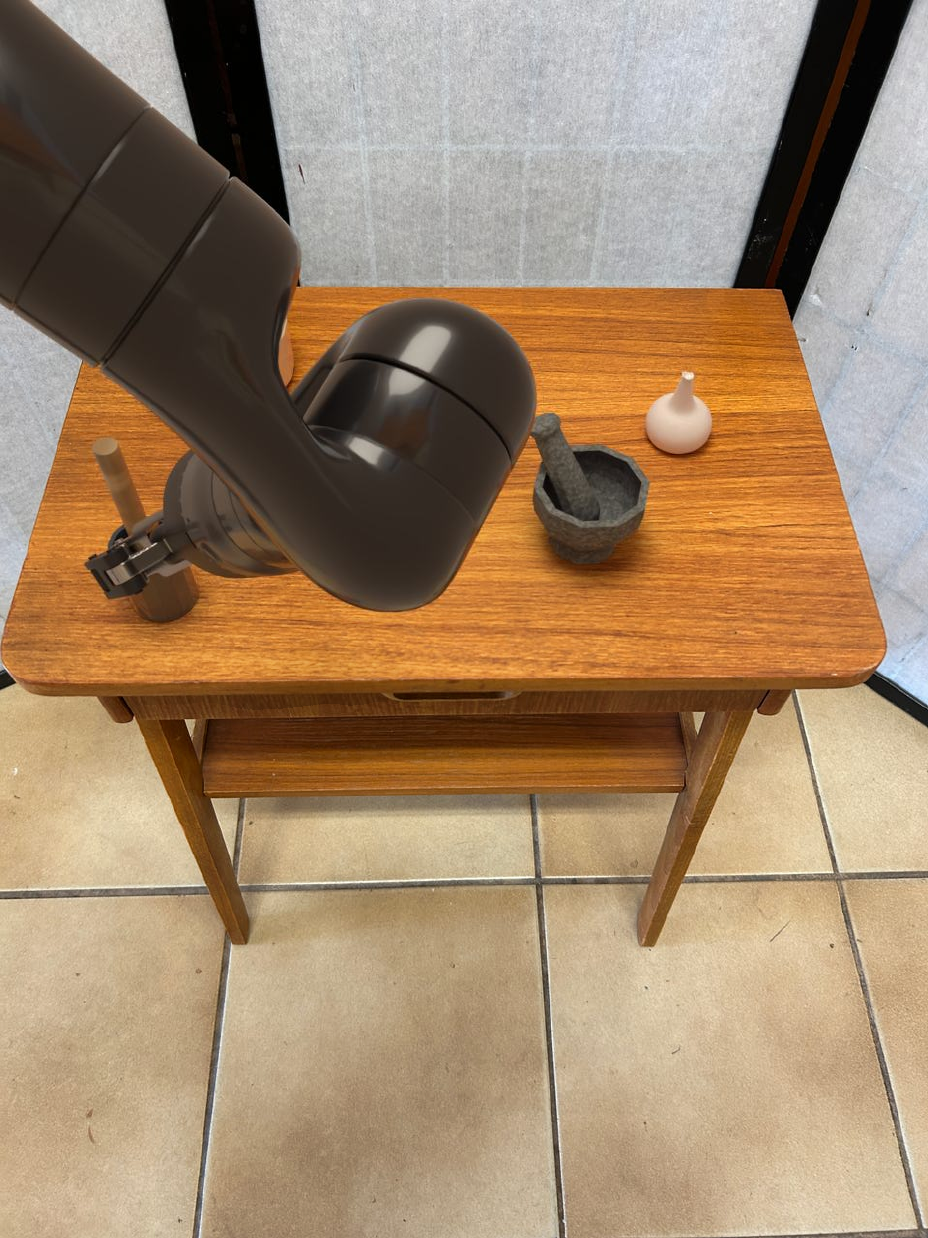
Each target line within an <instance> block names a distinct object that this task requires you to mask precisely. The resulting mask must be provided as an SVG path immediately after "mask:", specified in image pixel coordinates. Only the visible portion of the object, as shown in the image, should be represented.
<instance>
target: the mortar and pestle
mask: <svg viewBox="0 0 928 1238" xmlns="http://www.w3.org/2000/svg"><path fill="white" fill-rule="evenodd" d="M561 424H562V420H561V418H560V416H559V415H558V414H556V413H555V412H544V413H542V414H539V415H536V416H535V421H534V424H533V427H532V430H531V433H530V436H529V437H531V438H532V439H533V440H534V442H535V444H536V447H537V450H538V452H539V456H540V458H541V460H542V461H540V463H539V467H538V471H537V473H536V478H535V481H534V485H533V489H532V490H533V491H532V506H533V511H534V512H535V514H536V516H537V518H538V519H539V521H540V523H541V524H542V526H543V528H544V529H545V531H546V532H547V534H548V540H547V541H548V542H549V544H550V545H551V547H552V549H553V550H554V552H555V554H556V555H557V557H560V558H562V559H564V560H567V561H568V562H571V563H572V564H575V565H595V564H600V563H601V562H603V561H604V560H605V559H607V558H609V557H610V556H612V555H613V554H615V551H616V546H617V545H618V544H620V543H622V541H624V540H625V539H626V538H628V537H630V536H631V535H632V534H634V533H635V532H637V531H638V529H639V527H640V525H641V523H642V521H643V520H644V517H645V516H644V515H645V511H646V507H647V503H648V502H647V501H648V497H649V496H648V495H649V490H650V485H651V481H650V480H649V479H648V477H647V476H646V474H645V473H644V472H643V470H642V468H641V467H640V466H639V464H638V463H637V462H636V459H634V457H631V456H629V455H626V454H624V453H622V452H620V451H617V450H616V449H613V448H610V447H608V446H606V445H603V444H585V445H584V444H581V445H570V444H569V442H568V440H567V439H566V436H565V434H564V432H563V431H562V428H561Z"/></svg>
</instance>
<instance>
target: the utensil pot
mask: <svg viewBox="0 0 928 1238" xmlns="http://www.w3.org/2000/svg"><path fill="white" fill-rule="evenodd" d="M146 516H147V515H146ZM148 516H149V515H148ZM148 516H147V517H148ZM163 522H164V520H162V521H160V522H159V525H160V524H161V523H163ZM127 537H129V536H128V533H127V531H126V529H125V526H124V524H123V523H122V524H121V525H120V526H119V527H118V528H116V529H115V530H114V531H113V532H112V534H111V536H110V538H109V540H108V542H107V550H109V549H110V547H111V546H112V545H114V544H115V543H114V542H115V541H117V540H119V539H120V538H122V539H123V540H124V539H125V538H127ZM192 565H193V564H192ZM192 565H190V566H188V567H186V568H184V569H182V570H180V571H178V572H176V573H174V574H172V575H170V576H168V577H165V576H162V575H160V574H159V573H154V574H152V575H150V576H148V578H149V579H150V581H149V582H148V583H147V584H148V585H147V586H146V587H144V588H143V590H144V591H142V592H141V593H139V594H137V595H135V594H132V595H130V596H128V597H127V599H128V600H129V601H128V602H129V603H130V605H131V607H132V608H133V610H134V612H135V613H136V614H137V615H138V616H140V618H142V619H144V620H146V621H149V622H154V623H165V622H166V623H167V622H171V621H175V620H177V619H179V618H182V617H183V616H184V615H187V613H189V612H190V610H192V609H193V608H194V606H195V605H196V603H197V601H198V598H199V595H200V589H199V588H200V587H199V584H198V581H197V577H196V574H195V571H194V568H193V566H192Z"/></svg>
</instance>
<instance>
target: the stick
mask: <svg viewBox="0 0 928 1238" xmlns="http://www.w3.org/2000/svg"><path fill="white" fill-rule="evenodd" d="M91 450H92V453H93V455H94V458H95V461H96V463H97V464H98V467H99V470H100V472H101V474H102V477H103V479H104V481H105V484H106V486H107V488H108V491H109V493H110V495H111V498H112V500H113V502H114V505H115V508H116V509H117V512H118V515H119V517H120V520H121V522H122V525H123V524H124V526H125V529H126V531H127V533H128V536H131V535H132V534H133V533H132V527H133V525H135V524H136V523H138V522H139V521H141V520H143V519H144V518H146V517H147V514H146V511H145V509H144V506H143V503H142V501H141V499H140V496H139V492H138V490H137V488H136V485H135V483H134V480H133V478H132V476H131V473H130V470H129V468H128V465H127V462H126V460H125V458H124V457H125V456H124V455H123V452H122V449H121V447H120V445H119V442H118V440H117V439H115V438H113V437H108V436H106V437H101V438H98V439H97V440H96V441H94V442H93V445H92V446H91ZM136 546H137V547H138V549H139V550H142V549H144V548H143V547H142V546H141V545H140V544H138V543H136Z"/></svg>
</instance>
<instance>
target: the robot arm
mask: <svg viewBox="0 0 928 1238" xmlns="http://www.w3.org/2000/svg"><path fill="white" fill-rule="evenodd" d="M230 174H231V173H230V170H228V169H227V168H226V167H225V166H224V165H222V164H221V163H220V162H219V161H218V160H217V159H215V158H214V157H213V156H212V155H210V154H209V153H208V152H207V151H206V150H204V149H203V148H202V146H200V145H199V144H198V143H196V141H194V140H193V139H192V138H191V137H190V136H188V134H186V133H185V132H184V131H183V130H182V129H180V128H179V127H177V126H176V125H175V123H173V122H172V121H171V120H169V119H168V118H167V117H166V116H164V114H162V113H161V112H160V111H159V110H157V109H156V108H155V107H154V106H151V103H150V102H148V101H147V100H146V99H145V98H144V97H143V96H141V95H140V94H139V93H138V92H137V91H135V90H134V89H133V87H131V86H130V85H128V84H127V83H126V82H125V81H124V80H122V79H121V78H120V77H118V75H116V74H115V73H114V72H112V70H111V69H109V68H108V67H107V66H106V65H104V64H103V63H102V62H101V61H100V60H99V59H97V58H96V57H95V56H93V55H92V54H91V53H90V52H89V51H88V50H87V49H86V48H84V47H83V46H82V45H81V44H80V43H79V42H78V41H76V40H75V39H74V38H73V37H72V36H71V35H69V33H67V32H66V31H65V30H64V29H63V28H62V27H60V26H59V25H58V24H57V23H56V22H55V21H53V19H52V18H50V16H48V15H47V14H46V13H44V11H42V10H41V9H40V8H39V7H38V6H37V5H35V4H34V2H33V1H31V0H0V305H1V306H2V307H4V308H5V309H7V310H8V311H12V312H13V314H14V315H16V316H17V317H18V318H20V319H21V320H23V321H24V322H26V323H27V324H29V325H30V326H31V327H33V328H35V329H36V330H37V331H39V332H40V333H42V334H43V335H45V336H46V337H48V338H49V339H51V340H52V341H54V342H55V343H57V344H58V345H59V346H61V347H62V348H64V349H65V350H67V351H68V352H70V353H71V354H72V355H74V356H75V357H77V358H78V359H80V360H81V361H83V362H84V363H86V364H87V365H88V366H90V367H92V369H96V368H97V367H98V366H99V368H98V369H99V372H100V374H102V375H103V376H105V377H106V378H108V379H109V380H110V381H112V382H113V383H114V384H116V385H117V386H119V387H120V388H122V389H124V390H125V391H126V392H127V393H128V394H130V395H131V396H132V397H133V398H134V399H136V400H137V401H139V402H140V403H141V404H142V405H143V406H144V407H145V408H147V409H148V410H149V411H150V412H151V413H152V414H154V415H155V416H156V417H157V419H159V421H161V422H162V423H163V424H164V425H165V426H167V428H168V429H169V430H170V431H172V432H173V433H174V434H175V435H176V436H177V437H178V438H179V439H180V440H181V441H182V442H183V443H184V444H185V445H186V446H187V447H188V448H189V449H188V450H187V451H186V452H185V453H184V454H183V455H182V456H181V457H180V458H179V459H178V460H177V462H176V463H175V464H174V466H173V467H172V469H171V470H170V473H169V475H168V477H167V480H166V484H165V486H164V491H163V497H162V508H161V509H158V510H157V511H155V512H153V513H151V514H150V515H148V517H146V518H144V519H143V520H141V521H139V522H138V523H136V524H135V525H133V527H132V533H133V534H132V535H131V536H129V537H127V538H125V539H124V540H123V539H122V538H120V539H119V540H117V541H115V542H114V543H115V544H114V545H112V546H111V547H110V549H109V550H108V549H107V550H105V551H103V552H101V553H99V554H97V553H94V554H92V555H90V556H88V557H87V559H88V560H87V561H85V562H84V563H83V565H84V566H85V568H86V570H87V571H89V572H90V573H91V575H92V576H93V578H94V580H95V581H96V582H97V584H98V585H99V587H100V588H101V590H102V591H103V594H104V595H105V597H106V599H107V600H114V599H121V598H122V599H123V598H128V596H130V595H132V594H135V595H137V594H139V593H141V592H142V591H144V590H143V588H144V587H146V586H147V585H148V584H147V583H148V582H149V581H150V579H149V578H148V576H150V575H152V574H154V573H159V574H160V575H162V576H165V577H168V576H170V575H172V574H174V573H176V572H178V571H180V570H182V569H184V568H186V567H188V566H190V565H193V566H194V567H197V568H198V569H200V570H202V571H204V572H206V573H208V574H210V575H214V576H216V577H220V578H225V579H235V580H236V579H237V580H239V579H241V580H243V579H253V578H267V577H277V576H278V577H279V576H285V575H290V574H295V573H298V572H300V573H301V574H302V575H303V576H304V577H306V578H307V579H308V580H309V581H310V582H311V583H313V584H314V585H315V586H316V587H318V588H319V589H320V590H322V591H323V592H325V593H326V594H328V595H330V596H331V597H333V598H334V599H337V600H339V601H341V602H343V603H345V604H347V605H349V606H352V607H355V608H359V609H362V610H365V611H371V612H376V613H393V614H394V613H395V614H396V613H404V612H410V611H415V610H418V609H421V608H423V607H425V606H428V605H430V604H431V603H433V602H434V601H436V600H437V599H439V598H440V597H441V596H442V595H443V594H444V593H445V592H446V590H447V589H448V588H449V587H450V586H451V584H452V583H453V581H454V580H455V578H456V577H457V575H458V573H459V571H460V569H461V567H462V566H463V564H464V562H465V561H466V559H467V557H468V555H469V553H470V551H471V549H472V547H473V545H474V543H475V542H476V539H477V537H478V536H479V533H480V532H481V530H482V528H483V526H484V524H485V522H486V520H487V518H488V517H489V515H490V513H491V511H492V510H493V506H494V505H495V503H496V501H497V500H498V497H499V496H500V495H501V494H500V493H501V492H502V490H503V488H504V486H505V484H506V483H507V480H508V478H509V476H510V474H511V473H512V471H513V470H514V468H515V466H516V464H517V463H518V460H519V459H520V457H521V455H522V453H523V451H524V449H525V447H526V445H527V442H528V440H529V439H530V437H531V436H530V433H531V430H532V427H533V424H534V421H535V417H536V416H537V415H536V414H537V409H538V407H537V406H538V392H537V385H536V380H535V374H534V371H533V369H532V367H531V364H530V362H529V359H528V358H527V356H526V354H525V352H524V350H523V348H522V347H521V346H520V344H519V342H518V341H517V340H516V338H514V336H513V335H512V334H511V333H510V332H509V331H508V330H507V329H506V328H505V327H504V326H503V325H502V324H500V323H499V322H497V321H496V320H495V319H493V318H492V317H491V316H489V315H487V314H486V313H484V312H483V311H480V310H478V309H477V308H475V307H472V306H470V305H467V304H465V303H462V302H458V301H455V300H451V299H446V298H441V297H440V298H439V297H423V296H422V297H411V298H403V299H398V300H394V301H391V302H388V303H385V304H382V305H380V306H377V307H376V308H373V309H371V310H369V311H368V312H366V313H364V314H363V315H362V316H361V317H359V318H358V319H356V320H355V321H354V322H353V323H352V324H351V325H349V326H348V328H346V329H345V330H344V332H342V334H340V336H338V337H337V339H336V340H335V341H334V342H333V343H332V344H331V345H330V346H329V347H328V348H327V349H326V350H325V352H323V354H321V356H320V357H319V358H318V360H316V362H314V364H313V365H312V366H311V367H310V368H309V370H307V372H306V373H305V374H304V376H303V377H302V378H301V379H300V380H299V382H298V383H297V384H296V385H295V387H294V388H293V389H292V390H291V392H289V390H288V387H287V386H285V384H284V382H283V379H282V376H281V372H280V369H279V349H280V341H281V337H282V333H283V329H284V325H285V321H286V318H287V319H288V315H289V312H290V309H291V306H292V303H293V299H294V297H295V293H296V290H297V288H298V282H299V278H300V274H301V269H302V268H301V267H302V250H301V245H300V242H299V240H298V237H297V236H296V233H295V232H294V231H293V229H292V227H291V226H290V225H289V224H288V223H287V222H286V221H285V220H284V219H283V217H282V216H281V215H280V214H279V213H278V212H276V210H275V209H274V208H273V207H272V206H270V205H269V204H268V203H267V202H266V201H265V200H264V199H262V197H261V196H259V195H258V194H257V193H256V192H255V191H253V189H251V188H250V187H249V186H247V185H246V184H245V183H244V182H242V180H240V179H239V178H238V177H236V176H232V177H231V176H230ZM162 520H164V522H163V523H161V524H160V525H159V522H160V521H162ZM136 543H138V544H140V545H141V546H142V547H143V548H144V549H142V550H139V549H138V547H137V546H136Z"/></svg>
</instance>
